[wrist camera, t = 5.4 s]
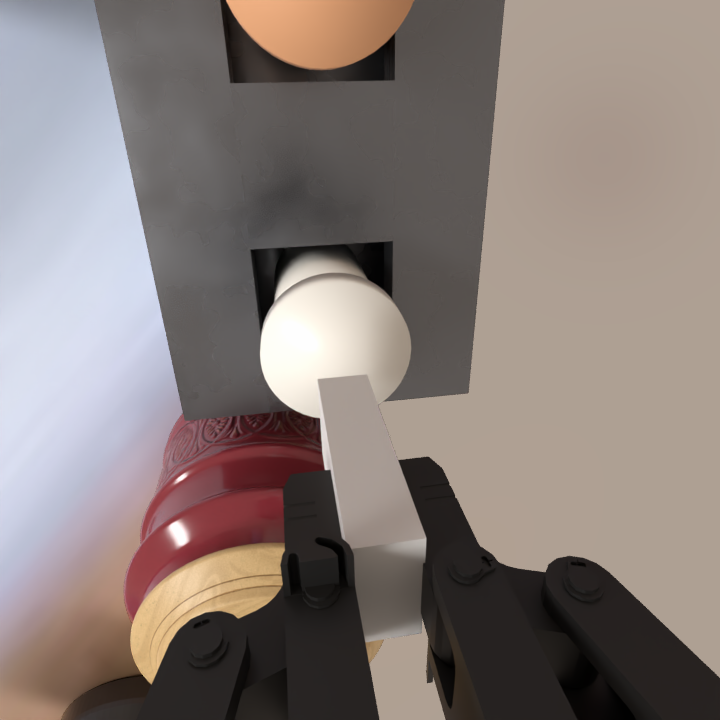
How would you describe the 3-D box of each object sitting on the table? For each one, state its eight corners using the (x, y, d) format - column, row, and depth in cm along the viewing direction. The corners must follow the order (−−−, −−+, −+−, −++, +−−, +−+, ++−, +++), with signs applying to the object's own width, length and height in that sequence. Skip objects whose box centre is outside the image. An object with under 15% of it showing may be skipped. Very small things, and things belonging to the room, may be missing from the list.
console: (426, 330, 33) (468, 393, 26) (205, 348, 31) (184, 420, 24) (447, -119, 23) (525, -218, 16) (119, -130, 21) (41, -247, 14)
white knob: (370, 323, 28) (409, 411, 20) (270, 331, 28) (268, 426, 20) (369, 222, 26) (413, 277, 18) (258, 228, 25) (251, 288, 17)
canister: (341, 345, 32) (403, 571, 17) (373, 494, 38) (440, 760, 23) (139, 390, 32) (9, 669, 16) (204, 535, 38) (156, 838, 22)
